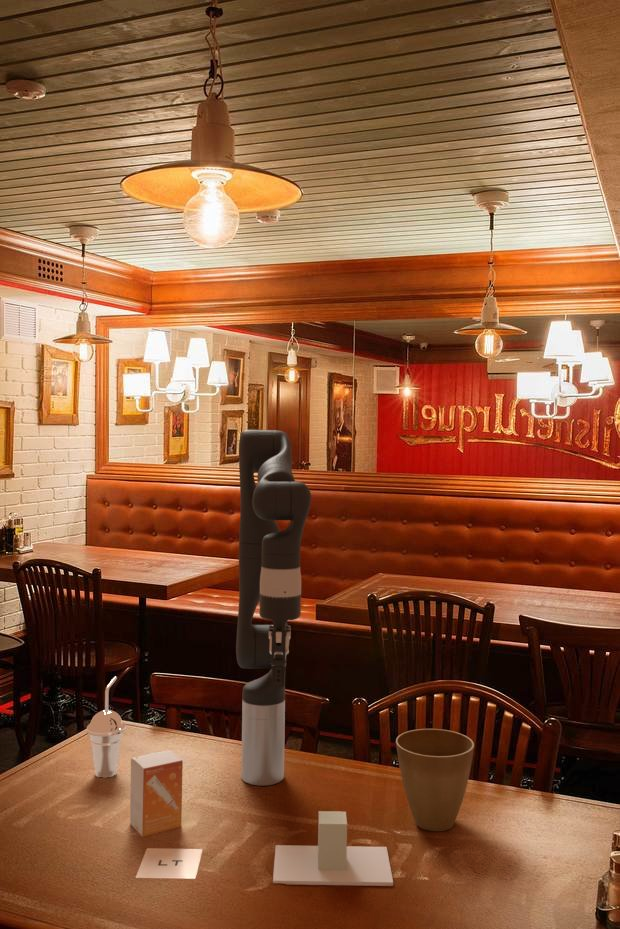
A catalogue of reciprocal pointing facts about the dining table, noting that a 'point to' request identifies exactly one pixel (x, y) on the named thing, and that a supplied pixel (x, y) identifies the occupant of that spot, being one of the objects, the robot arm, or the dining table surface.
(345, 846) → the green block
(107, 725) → the cup with straw
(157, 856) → the tile
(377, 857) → the white rectangular board
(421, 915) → the dining table surface
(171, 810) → the small box
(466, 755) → the plant pot
